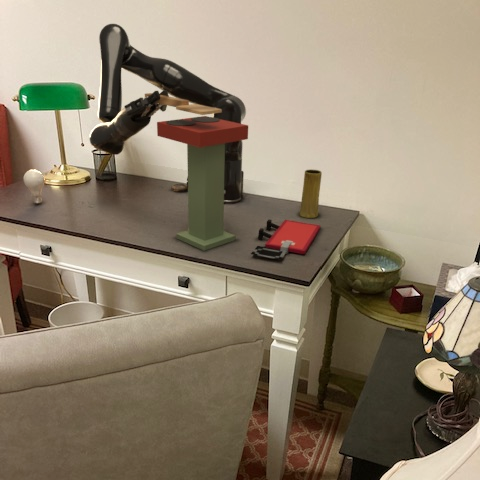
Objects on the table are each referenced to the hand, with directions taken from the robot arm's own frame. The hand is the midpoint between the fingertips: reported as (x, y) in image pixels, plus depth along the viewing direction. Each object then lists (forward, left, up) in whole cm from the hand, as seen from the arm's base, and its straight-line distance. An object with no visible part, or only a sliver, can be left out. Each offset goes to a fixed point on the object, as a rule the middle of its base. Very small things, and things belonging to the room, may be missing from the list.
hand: (162, 93), depth 139 cm
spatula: (0, +6, -2) cm, 7 cm away
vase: (-42, +21, -37) cm, 60 cm away
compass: (-27, -26, -37) cm, 53 cm away
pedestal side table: (-4, +12, -37) cm, 39 cm away
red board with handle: (-18, +31, -37) cm, 52 cm away
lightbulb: (+19, -44, -37) cm, 61 cm away
